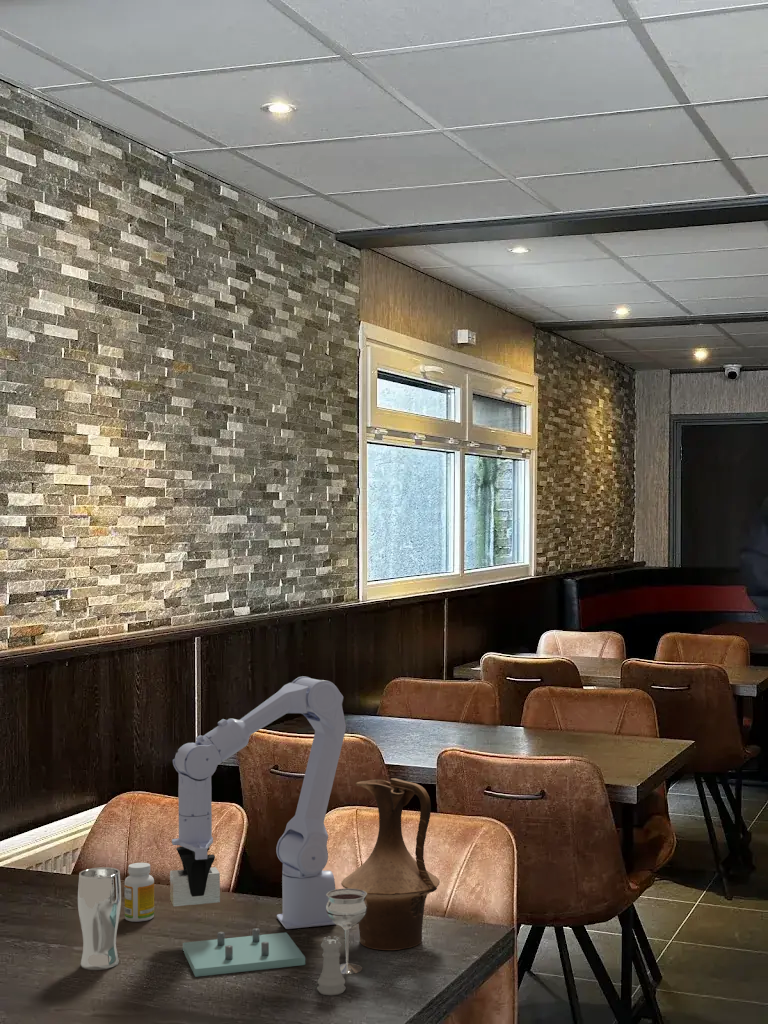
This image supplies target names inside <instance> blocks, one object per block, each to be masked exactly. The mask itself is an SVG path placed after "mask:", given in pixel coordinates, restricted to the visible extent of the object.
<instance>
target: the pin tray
mask: <svg viewBox="0 0 768 1024" xmlns="http://www.w3.org/2000/svg"><path fill="white" fill-rule="evenodd" d="M216 933H217V936H216V939H207V940H196V941H186V942H185V941H184V942H182V951H184V952H183V954H184V956H185V958H186V961H187V962H188V964H189V966H190V969H191V971H192V973H193V975H194V977H195V978H196V977H198V978H199V977H206V976H214V975H215V976H216V975H224V974H234V973H241V972H251V971H253V972H254V971H261V970H269V969H279V968H288V967H297V966H305V965H306V956H305V955H304V953H303V952H302V951H301V949H300V948H299V947H298V946H297V945H296V943H295V941H294V940H293V939H292V938H291V936H290V935H289V934H288V933H287V932H277V933H268V934H265V933H264V934H260V928H257V927H256V928H252V932H251V933H252V934H251V935H248V936H247V935H246V936H236V937H228V938H226V937H225V932H224V931H218V932H216Z"/></svg>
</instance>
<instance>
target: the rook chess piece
mask: <svg viewBox="0 0 768 1024" xmlns="http://www.w3.org/2000/svg"><path fill="white" fill-rule="evenodd" d="M342 946H343V944H342V943H341V941H340V937H338V936H333V937H332V936H331V935H328V936H327V937H326V936H325V937H323V938H322V942H321V944H320V947H321V949H322V950H323V953H322V954H321V955H322V958H323V961H322V962H323V963H322V970H321V973H320V975H319V978H318V980H317V985H318V986H317V987H316V989H317V992H318V993H319V994H320V995H324V996H338V995H341V994H343V993H344V992H345V990H346V988H347V987H346V986H345V984H346V979H345V977H344V976H343V975H344V974H342V973H341V970H340V957H341V953H340V949H341V947H342Z"/></svg>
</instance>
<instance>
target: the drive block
mask: <svg viewBox="0 0 768 1024" xmlns="http://www.w3.org/2000/svg"><path fill="white" fill-rule="evenodd" d="M220 877H221V875H220V871H219V870H218V868H217V867H216V866H214V867H213V866H211V868H210V871H209V874H208V878H207V883H206V889H205V893H204V896H194V897H192V895H191V892H190V887H189V880H188V874H187V870H184V869H179V870H178V869H176V870H175V869H174V870H170V871H169V882H170V884H169V890H170V891H169V895H170V896H169V898H170V899H169V900H170V903H171V905H172V906H173V907H182V906H184V907H185V906H194V905H206V904H214V903H215V904H217V903H221V880H220V879H221V878H220Z"/></svg>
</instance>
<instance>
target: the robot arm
mask: <svg viewBox="0 0 768 1024" xmlns="http://www.w3.org/2000/svg"><path fill="white" fill-rule="evenodd" d="M343 702H344V696H343V694H342V693H341V692H340V690H339V688H338V686H337V685H335V683H333V682H332V681H330V680H324V679H316V678H311V677H309V676H303V675H302V676H298V677H297V678H295V679H293V680H292V681H291V682H288V683H286V684H283V686H282V687H281V688H280V689H279V690H278V691H277V692H276V693H274V694H272V695H271V696H270V697H268V698H267V699H266V700H265V701H263V702H262V703H260V704H258V706H256V707H255V708H254V709H252V710H251V711H249V712H248V713H247V714H244V716H242V717H241V718H240V719H236V718H228V719H224V718H222V719H221V720H219V721H218V722H217V726H215V727H213V729H212V730H210V731H208V732H206V733H205V734H204V735H201V734H199V735H198V736H196V737H195V740H196V741H195V742H187V743H184V744H183V745H181V746H180V747H179V748H178V749H177V752H175V757H174V758H173V759H172V765H173V767H174V769H175V771H176V772H177V773H178V787H177V788H178V791H177V792H178V794H177V795H178V800H177V801H178V838H172V839H171V845H173V846H176V848H175V849H176V852H177V853H178V855H179V858H180V862H181V864H182V870H187V874H188V880H189V887H190V892H191V895H192V897H194V896H204V893H205V889H206V883H207V878H208V874H209V871H210V868H211V867H213V866H212V865H213V864H214V861H215V859H216V856H215V854H213V853H211V854H208V852H209V850H210V847H211V846H212V845H213V843H214V838H213V835H212V834H213V831H212V829H213V825H212V824H213V823H212V821H213V819H212V818H213V813H212V810H213V809H212V807H213V806H212V776H213V775H214V773H215V772H216V770H217V769H218V768H217V767H218V765H220V764H221V763H223V762H225V761H226V760H228V759H230V758H231V757H232V756H234V755H235V754H237V753H238V752H240V751H241V750H242V749H244V748H245V747H247V746H248V745H249V740H250V738H251V736H252V735H253V734H254V733H256V732H258V731H260V730H261V729H263V728H265V727H267V726H268V725H270V724H272V723H273V722H274V721H277V720H278V719H280V718H282V717H283V716H285V715H286V714H301V715H303V716H304V717H305V718H306V719H307V721H308V722H309V724H310V725H311V727H312V728H313V730H314V736H313V740H312V743H311V744H312V745H311V748H310V752H309V755H308V761H307V764H306V769H305V773H304V777H303V781H302V786H301V789H300V793H299V797H298V802H297V805H296V806H297V807H296V810H295V814H294V816H293V817H292V818H291V819H290V820H288V822H287V823H286V826H285V829H284V832H283V834H282V835H281V836H280V838H279V839H278V841H277V844H276V848H275V849H276V851H275V852H276V856H277V858H278V860H279V861H280V862H281V863H282V868H281V869H282V870H281V871H282V873H281V876H282V877H281V880H282V881H281V883H282V884H281V886H282V887H281V888H282V892H281V893H282V897H281V898H282V901H281V902H282V913H278V914H276V918H277V919H278V921H279V922H280V923H281V924H282V926H283V927H284V928H285V930H292V929H301V928H309V927H310V928H311V927H321V926H330V925H336V924H335V923H334V922H333V921H332V920H331V919H330V918H329V917H328V914H327V912H326V905H327V901H328V900H329V899H328V897H327V895H326V894H327V893H328V892H329V891H332V890H336V881H335V876H334V874H333V871H331V870H324V869H325V868H326V865H327V863H328V860H329V852H328V840H329V834H328V832H327V828H326V826H325V818H326V814H327V810H328V806H329V802H330V801H329V800H330V796H331V793H332V789H333V784H334V781H335V776H336V772H337V767H338V764H339V759H340V755H341V752H342V748H343V747H342V746H343V743H344V739H345V734H346V729H347V724H346V720H345V719H346V718H345V714H344V710H343ZM177 846H178V847H177Z"/></svg>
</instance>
